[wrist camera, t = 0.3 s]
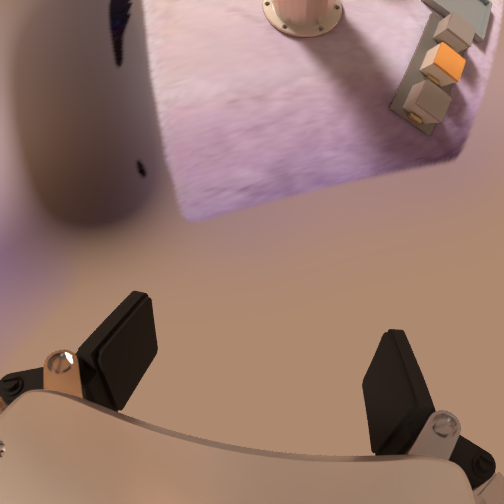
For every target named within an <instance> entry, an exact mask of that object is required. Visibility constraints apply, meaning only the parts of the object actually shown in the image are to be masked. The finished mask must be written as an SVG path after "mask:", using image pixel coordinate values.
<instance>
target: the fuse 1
mask: <svg viewBox="0 0 504 504" xmlns="http://www.w3.org/2000/svg"><path fill="white" fill-rule="evenodd" d="M451 100H452V98H451V97H450V96H449V95H448V94H447V93H445V92H444V91H443V90H442V89H440V88H439V87H438V86H436V85H435V84H434V83H432V82H431V81H430V80H428V79H427V80H424V81H422V82H420V83H417V84H415V85H413V86H412V88H411V90H410V92H409V95H408V97H407V99H406V101H405V103H404V105H403V107H402V108H404V109H405V110H407V111H408V112H410V113H413V114H414V115H416V116H417V117H418V118H420V119H421V120H422V122H423V123H425V124H430V123H442V121H443V119H444V117H445V114H446V112H447V110H448V107H449V105H450V102H451Z"/></svg>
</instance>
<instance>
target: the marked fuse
mask: <svg viewBox="0 0 504 504" xmlns="http://www.w3.org/2000/svg"><path fill="white" fill-rule="evenodd" d="M465 63H466V60H465V59H464V58H463V57H461V56H460V55H459V54H458V53H457V52H455V51H454V50H453V49H452V48H450V47H449V46H448V45H446V44H445V43H444V42H441V43H440V44H438V45H437V46H435V47H433V48H432V49H430V50H429V51H427V54H426V56H425V58H424V61H423V63H422V65H421V68H420V71H421V72H423V73H424V74H425V75H431V76H432V77H433V78H435V79H436V80H437V81H439V83H438V84H439V85H440V86H441V87H442V86H445V85H449V84H452V83H455V82H459V79H460V77H461V74H462V71H463V68H464V65H465Z"/></svg>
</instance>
